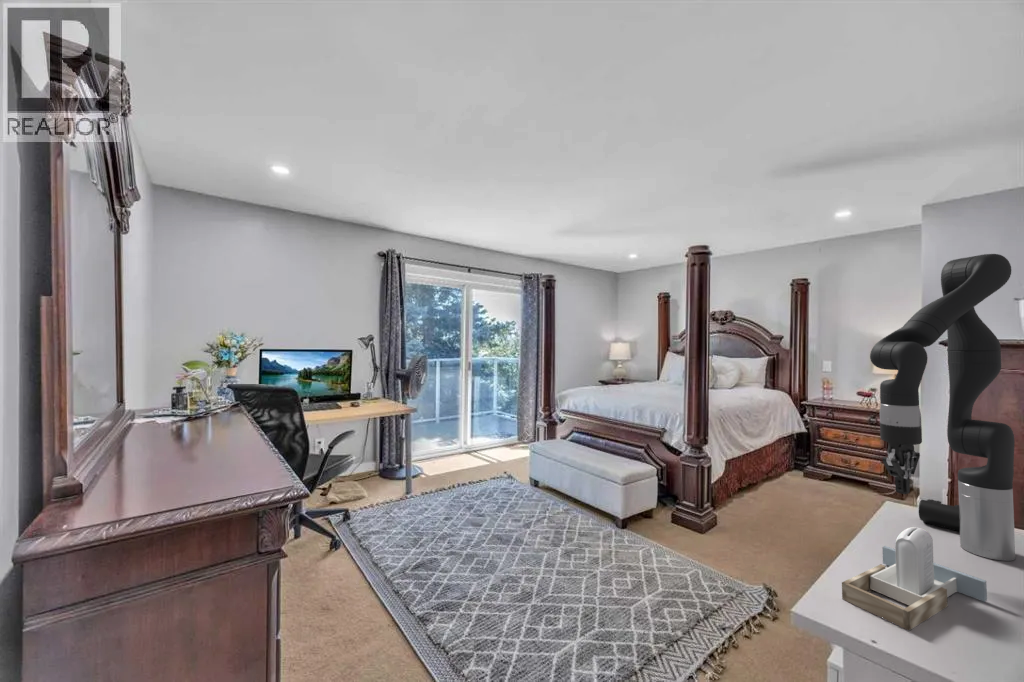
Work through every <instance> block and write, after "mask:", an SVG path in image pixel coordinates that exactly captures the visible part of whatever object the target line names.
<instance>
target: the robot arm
mask: <svg viewBox="0 0 1024 682" xmlns="http://www.w3.org/2000/svg"><path fill="white" fill-rule="evenodd" d="M1011 275H1012V266H1011V263H1010V261H1009V260H1008V258H1007V257H1006V256H1004V255H1002V254H998V253H984V254H979V255H973V256H968V257H967V256H966V257H961V258H956V259H952V260H950V261H947V262H946V263H945V264H944V265H943V267H942V269H941V273H940V285H941V292H942V296H941V297H939V298H937V299H935V300H933V301H932V302H930V303H928V304H927V305H925V306H923V307H922V308H920V309H919V310H918V311H916V312H915V313H914V314H913V315H912V316H911V317H910V318H909V319H908V321H906V322H905V324H904V325H902V327H900V328H898V329H897V330H894V331H893V332H891V333H890V334H888V335H885V337H883V338H882V339H880V340H879V341H877V342H876V343H875V344H874V346H873V347H872V348H871V351H870V352H869V353H870V354H869V359H870V362H871V363H872V364H873V366H874V367H876V368H878V369H881V370H889V371H890V370H891V371H897V373H896V375H895V377H894V378H893V379H892V378H891V379H886V380H883V381H881V383H880V385H879V398H880V399H879V400H880V401H879V402H880V404H879V405H880V407H879V436H880V439H881V440H882V441H883V442H887V443H888V446H887V456H883V457H882V463H883V464H884V466H885V469H886V470H887V472H888V474H889V475H890V476H892V477H894V481H895V483H894V484H895V485H894V487H895V489H894V490H895V492H896V493H899V494H903V495H908V494H909V493H910V492H911V490H910V489H911V486H910V479H911V478H912V475H915V472H916V471H917V470H916V469H917V467H918V463H919V460H920V456H921V454H920V452H918V451H917V452H916V451H915V446H916V445H920V444H922V442H923V428H922V414H921V412H922V411H921V408H920V393H919V389H920V386H921V382H922V379H923V376H924V373H925V371H926V370H925V369H926V368H927V364H928V353H927V350H926V348H927V347H930V346H932V345H933V344H935V343H936V341H938V340H939V339H940V338H941V336H943V334H944V333H945V332H947V364H948V365H947V368H948V378H949V379H948V380H949V381H948V382H949V401H948V413H947V415H948V416H947V428H946V429H947V430H946V431H947V432H946V434H947V435H946V436H947V442H948V443H947V444H948V446H949V447H950V449H951V450H952V451H953V452H954V453H958V454H961V455H965V456H973V457H979V458H985V459H987V462H986V464H985V465H982V466H975V467H974V466H971V467H963V468H960V469H959V470H958V471H957V484H958V486H957V487H958V489H957V490H958V505H959V519H960V531H959V543H960V547H961V548H962V549H963V550H965V551H967V552H968V553H970V554H974V555H976V556H980V557H981V558H986V559H991V560H996V561H1005V562H1006V561H1009V562H1010V561H1014V560H1016V544H1015V543H1016V541H1015V540H1016V537H1015V535H1016V534H1015V512H1014V509H1015V507H1014V489H1013V488H1014V487H1013V486H1014V485H1013V481H1014V466H1015V465H1014V460H1015V459H1014V458H1015V434H1014V431H1013V429H1012V428H1011V426H1009V425H1008V424H1006V423H1003V422H999V421H997V422H996V421H988V420H980V419H972V412H973V408H974V405H975V402H976V400H977V399H978V398H979V396H980V395H981V394H982V393H983V391H985V390H986V388H988V386H990V385H991V383H993V382H994V380H995V379H997V377H998V375H999V374H1000V372H1001V370H1002V351H1001V350H1002V347H1001V342H1000V340H999V338H997V336H996V334H995V333H994V332H993V331H992V330H991V329H990V328H989V327H988V325H987V324H985V322H984V321H983V320H982V318H980V316H979V315H978V313H977V311H976V308H975V307H976V306H977V305H978V304H980V303H981V302H983V301H985V300H986V299H987V298H989V297H990V296H991V295H993V294H994V293H996V292H997V291H998V290H1000V289H1001V288H1002V287H1004V286H1005V285H1006V284H1007V283H1008V281H1009V280H1010V278H1011Z"/></svg>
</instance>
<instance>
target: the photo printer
mask: <svg viewBox="0 0 1024 682" xmlns="http://www.w3.org/2000/svg"><path fill="white" fill-rule="evenodd" d="M894 544H895V547H894V549H895V552H896V583H897V586H898V587H900V588H903V589H905V590H908V591H910V592H913V593H915V594H917V595H922V594H923V593H925V592H926V591H927V590H928V589H929V588H931V587H932V586H933V584H934V563H935V562H934V539H933V536H932V535H931V533H930V532H929V531H927V530H926V529H924V528H920V527H918V526H912V527H907V528H905V529H904V530H902V532H900V533H899V534H898V536H897V537H896V539H895V543H894ZM933 562H934V563H933Z"/></svg>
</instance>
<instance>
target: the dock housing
mask: <svg viewBox="0 0 1024 682" xmlns="http://www.w3.org/2000/svg"><path fill="white" fill-rule="evenodd" d="M885 568H886V566H885V564H883V563H882V564H879V565H877V566H874V567H872V568H869V569H868V570H865V571H863V572H861V573H859V574H857V575H854V576H853V577H850V578H849V579H846V580H844V581H841V595H842V596H841V597H842V598H841V599H842V600H843V601H846V602H848V603H850V604H852V605H854V606H856V607H858V608H860V609H863V611H867V612H868V613H871V614H873V615H875V616H877V617H879V616H880V617H879V618H881V617H883V618H884V620H885V619H886V620H885V621H888V622H890V623H892V622H893V624H894V623H895V624H894V625H896V626H898V625H899V626H898V627H901V628H902V629H904V630H907V631H911V630H912V629H915V628H916V627H917V626H918V625H921V624H923V622H925V621H926V620H928V619H930V618H932V617H933V616H935V615H936V614H938V613H939V612H941V611H943V610H944V609H946V608H947V607H948V597H947V589H945V588H942V587H941V588H939V589H938V590H936V591H934V592H932V593H931V594H929V595H927V596H926V597H924V598H922V599H920V600H919V601H917V602H915V603H913V604H912V605H910V606H909V605H907V606H906V607H903V606H901V605H898V604H895V603H894V602H893V601H892V602H891V601H889V600H887V599H885V598H882V597H880V596H877V595H875V594H873V593H871V592H869V590H871V589H870V576H871V575H873V574H875V573H877V572H879V571H881V570H883V569H885ZM883 618H882V619H883Z"/></svg>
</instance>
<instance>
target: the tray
mask: <svg viewBox="0 0 1024 682" xmlns="http://www.w3.org/2000/svg"><path fill="white" fill-rule="evenodd" d="M881 548H882V565H886V566H887V567H885V569H883V570H881V571H879V572H877V573H875V574H873V575H871V576H870V590H873V591H875V592H876V593H878V594H881V595H884V596H886V597H887V598H888V597H889V598H891V599H892V600H895V601H898V602H899V603H902V604H905V605H907V606H910V605H912V604H913V603H915V602H917V601H919V600H920V599H922V598H924V597H926V596H927V595H929V594H931V593H932V592H934V591H936V590H938V589H939V588H941V587H942V588H945V589H947V598H948V597H949V596H952V595H953V594H955V593H960V594H962V595H963V594H964V595H965V596H968V597H971V598H973V599H976V600H979V601H981V602H984V603H985V602H987V601H988V589H987V580H986V579H982V578H979V577H976V576H974V575H971V574H968V573H965V572H962V571H959V570H956V569H954V568H950V567H948V566H944V565H942V564H940V563H936V562H934V561H933V563H934V584H933V586H932V587H931V588H929V589H928V590H927V591H926V592H925V593H923V594H922V595H917V594H915V593H913V592H910V591H908V590H905V589H903V588H900V587H898V586H897V583H896V552H895V548H893V547H890V546H887V545H884V546H883V545H882V547H881Z"/></svg>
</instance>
